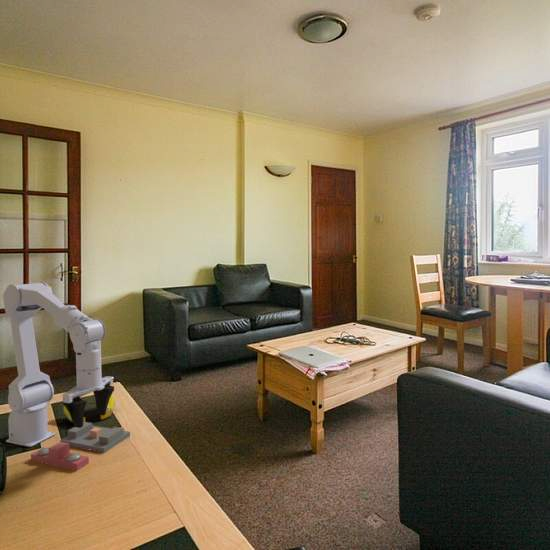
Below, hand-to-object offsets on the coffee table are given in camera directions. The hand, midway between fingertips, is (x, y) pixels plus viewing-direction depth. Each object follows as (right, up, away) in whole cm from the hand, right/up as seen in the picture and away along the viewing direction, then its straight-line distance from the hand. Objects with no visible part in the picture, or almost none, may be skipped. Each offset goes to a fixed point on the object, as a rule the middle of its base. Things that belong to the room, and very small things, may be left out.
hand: (90, 420), depth 98 cm
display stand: (-3, -9, +10) cm, 14 cm away
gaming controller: (-12, -9, +25) cm, 29 cm away
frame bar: (-7, -10, -1) cm, 12 cm away
